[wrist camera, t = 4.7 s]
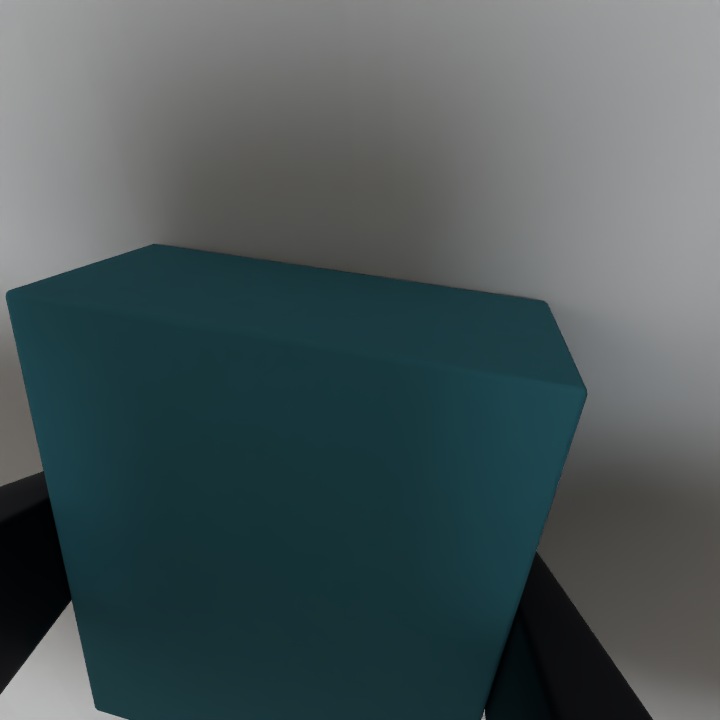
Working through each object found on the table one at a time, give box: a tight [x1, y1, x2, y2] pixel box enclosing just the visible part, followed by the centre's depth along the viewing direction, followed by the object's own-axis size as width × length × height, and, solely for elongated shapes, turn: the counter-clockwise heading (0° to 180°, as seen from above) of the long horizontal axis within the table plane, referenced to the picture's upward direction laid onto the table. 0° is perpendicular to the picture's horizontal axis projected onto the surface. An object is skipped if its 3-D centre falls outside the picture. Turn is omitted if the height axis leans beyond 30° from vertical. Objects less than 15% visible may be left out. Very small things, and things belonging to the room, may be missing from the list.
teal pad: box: [6, 244, 587, 720], centre depth 8 cm, size 8×6×3 cm
